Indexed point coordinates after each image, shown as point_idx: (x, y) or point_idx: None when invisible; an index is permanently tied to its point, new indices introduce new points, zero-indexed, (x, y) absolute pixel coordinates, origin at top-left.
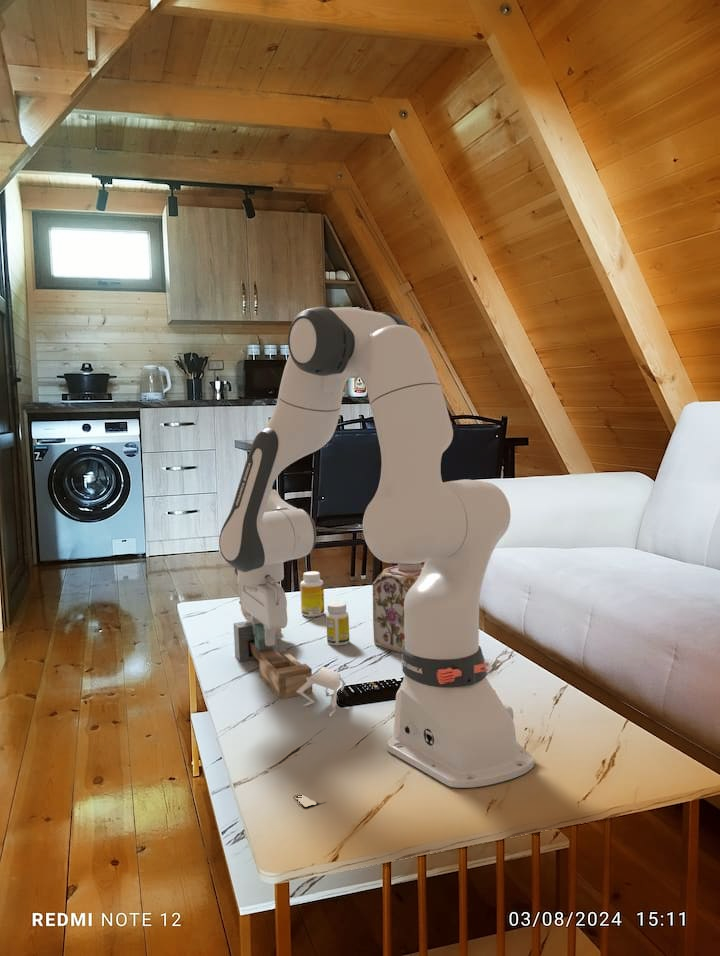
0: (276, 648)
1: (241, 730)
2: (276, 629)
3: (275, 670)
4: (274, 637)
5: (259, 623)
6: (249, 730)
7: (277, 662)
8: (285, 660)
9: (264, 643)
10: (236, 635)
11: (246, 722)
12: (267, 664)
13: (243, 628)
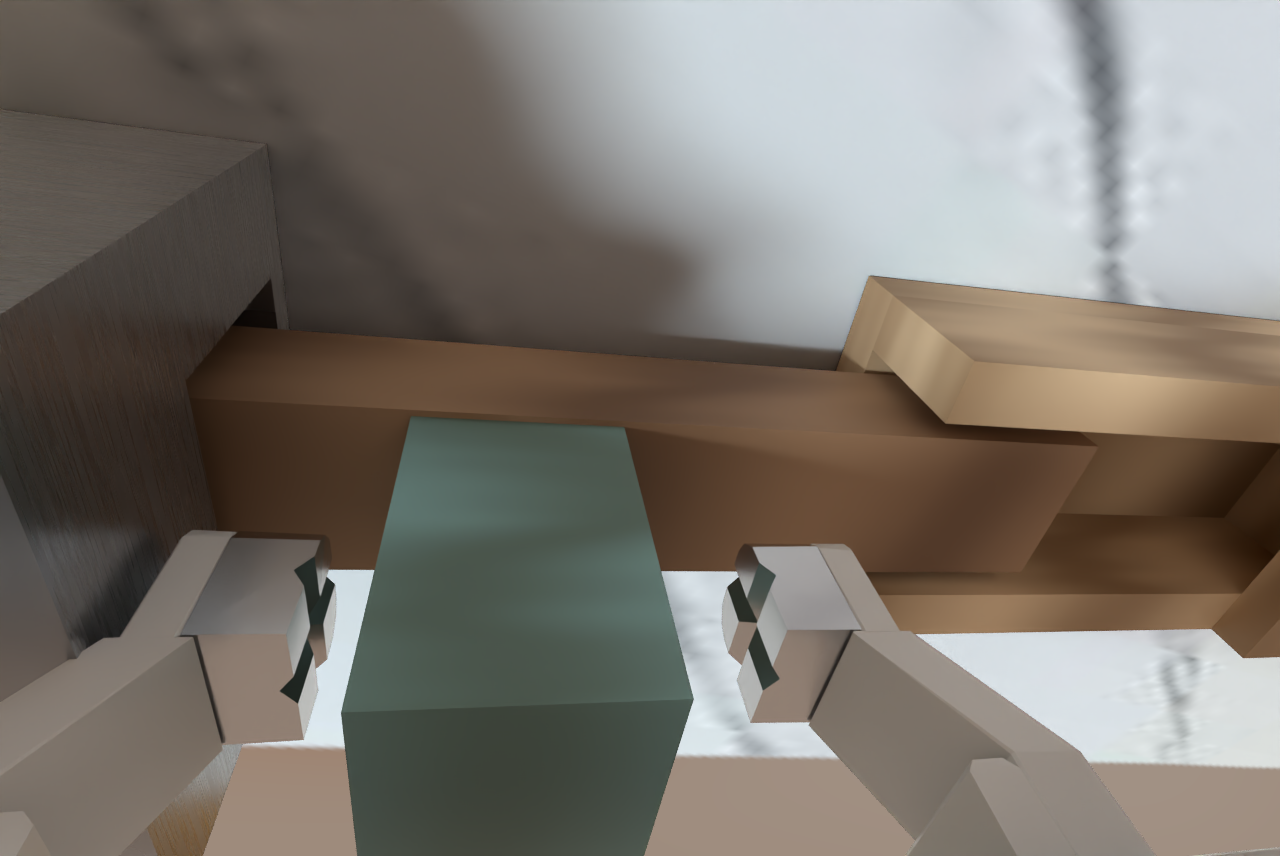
0: (235, 182)
1: (1234, 721)
2: (1060, 740)
3: (1270, 655)
4: (889, 617)
5: (379, 824)
6: (1265, 701)
7: (1036, 531)
8: (1063, 457)
9: (727, 626)
10: None
11: (1204, 697)
12: (1021, 618)
13: (177, 842)
